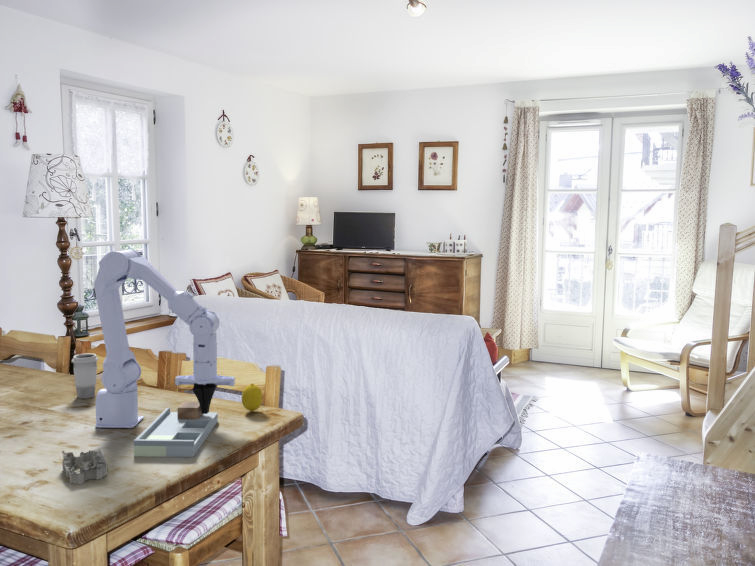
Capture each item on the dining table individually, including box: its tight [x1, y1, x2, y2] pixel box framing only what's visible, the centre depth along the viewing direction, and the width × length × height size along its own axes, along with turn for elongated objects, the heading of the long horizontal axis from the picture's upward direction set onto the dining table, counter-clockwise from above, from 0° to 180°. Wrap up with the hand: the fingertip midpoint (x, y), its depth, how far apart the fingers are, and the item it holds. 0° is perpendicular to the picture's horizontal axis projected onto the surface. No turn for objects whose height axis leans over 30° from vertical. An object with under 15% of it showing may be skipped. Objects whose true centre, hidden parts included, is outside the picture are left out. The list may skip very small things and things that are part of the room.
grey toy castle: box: [61, 448, 108, 485], centre depth 124 cm, size 11×8×4 cm
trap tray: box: [133, 406, 219, 458], centre depth 144 cm, size 13×23×4 cm, turn 2°
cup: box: [71, 352, 99, 400], centre depth 174 cm, size 7×7×12 cm
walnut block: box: [177, 400, 202, 420], centre depth 152 cm, size 5×5×3 cm
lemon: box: [241, 383, 263, 413], centre depth 164 cm, size 6×6×8 cm
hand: (205, 412), depth 152 cm, fingers closed
